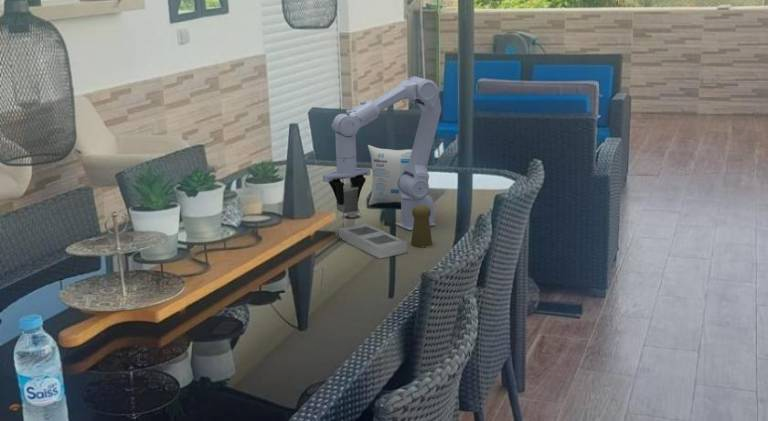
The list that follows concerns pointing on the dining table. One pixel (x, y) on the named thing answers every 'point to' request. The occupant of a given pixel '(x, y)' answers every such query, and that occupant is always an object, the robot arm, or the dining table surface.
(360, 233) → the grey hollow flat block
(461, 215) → the dining table surface
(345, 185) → the grey rectangular block
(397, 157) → the pouch
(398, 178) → the robot arm
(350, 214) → the screw
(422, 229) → the cork
